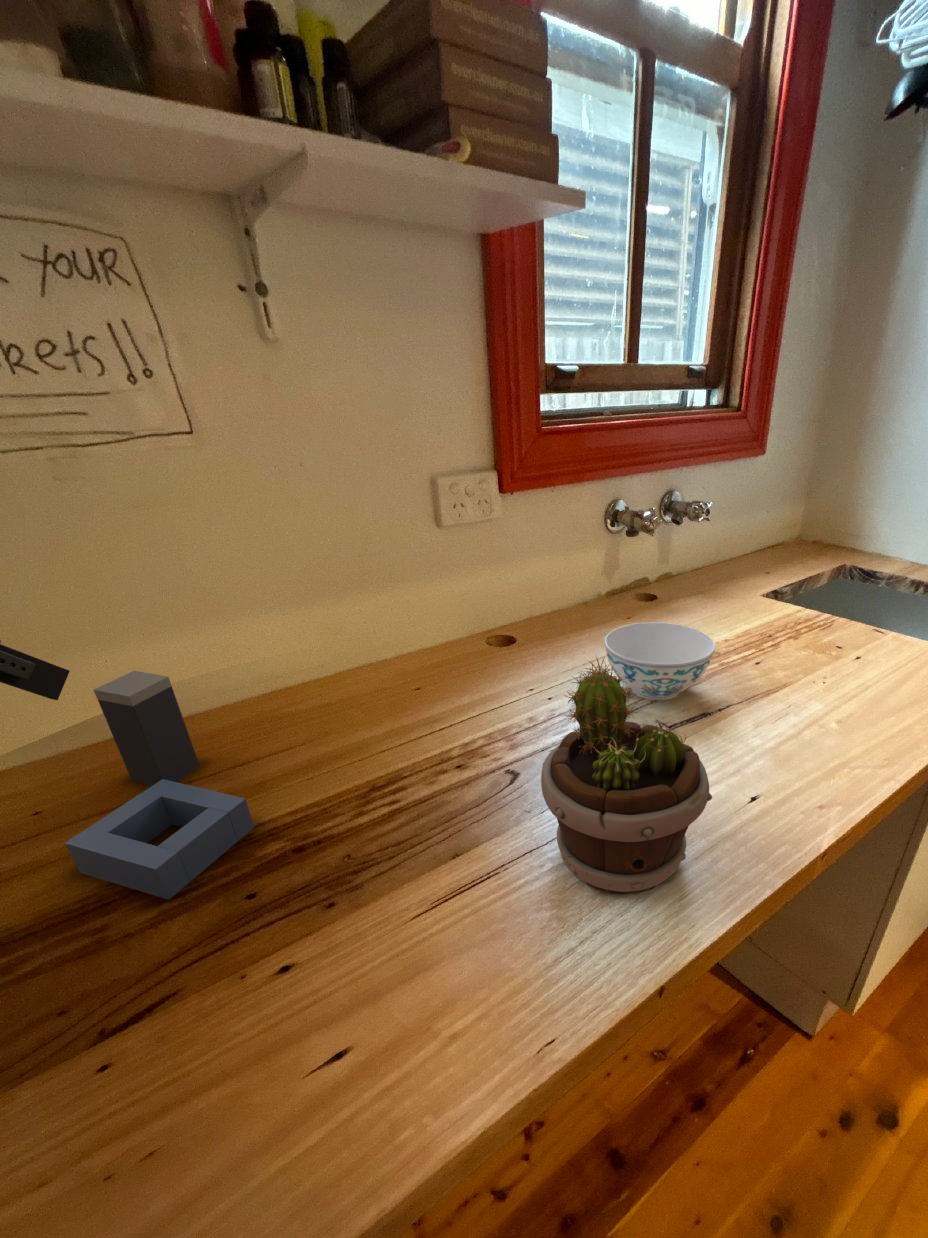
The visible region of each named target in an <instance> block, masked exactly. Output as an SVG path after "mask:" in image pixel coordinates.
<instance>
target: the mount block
mask: <svg viewBox="0 0 928 1238" xmlns="http://www.w3.org/2000/svg"><path fill="white" fill-rule="evenodd" d="M171 826H178V827H181V828H179V829H178V830H176V832H174V833H173V834H171V835H170V836H169V837H168V838H166V839H165V840H164V841H162V842H161V843H160V844H158V845H154V844H151V843H150V842H151V841H152V840H153V839H154V838H156V837H157V836H159V835H160V834H162V833H163V832H164V831H165V830H167V829H169V827H171ZM254 828H255V824H254V821H253V818H252V815H251V812H250V808H249V806H248V802H247V799H246V798H245V797H240V796H236V795H232V794H228V793H225V792H224V793H223V792H219V791H216V790H215V791H214V790H211V789H208V788H207V789H206V788H202V787H197V786H194V785H189V784H185V783H180V782H178V781H176V782H173V781H168V780H164V779H162V780H160V781H159V782H157V783H156V784H154V785H153V786H151V785H150V787H148V788H147V789H145V790H144V791H142V792H140V793H138V794H137V795H136V796H134V797H133V798H131V799H130V800H128V801H127V802H125V803H124V804H122V805H121V806H119V807H118V808H116V809H114V810H113V811H111V812H110V813H108V814H107V815H105V816H104V817H102V818H101V819H99V820H98V821H96V822H94V823H92V824H91V825H90V826H89V827H87V828H85V829H84V830H83V831H81V832H79V833H78V834H77V835H75V836H73V837H72V838H70V839H69V840H67V841H65V843H64V845H65V846H66V848H67V850H68V852H69V854H70V856H71V858H72V860H73V862H74V863H75V866H76V867H77V870H78V871H79V873H80V874H82V875H86V876H89V877H92V878H96V879H98V880H103V881H105V882H109V883H112V884H115V885H119V886H122V887H125V888H128V889H132V890H136V891H138V892H141V893H145V894H147V895H152V896H154V897H158V898H161V899H165V900H171V898H173V897H174V896H175V895H176V894H178V893H179V892H180V891H181V890H182V889H184V887H186V886H187V885H188V884H189V883H191V882H192V881H193V880H194V879H195V878H197V876H198V875H200V874H202V872H203V871H205V870H206V869H207V868H208V867H210V866H211V864H213V863H214V862H215V861H216V860H218V859H219V858H220V857H221V856H222V855H223V854H225V853H226V852H227V851H228V850H229V849H230V848H232V847H233V846H234V845H235V844H237V842H239V841H240V840H241V839H242V838H243V837H245V836H246V835H247V834H248V833H249V832H251V831H252V830H253V829H254Z"/></svg>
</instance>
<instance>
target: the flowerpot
mask: <svg viewBox="0 0 928 1238" xmlns="http://www.w3.org/2000/svg"><path fill="white" fill-rule="evenodd" d="M605 658H606V656H604V657H603V659H602V661H601V663H600V662H599V659H598V657H597V654H595V659H596V662H597V666H595V665H594V661H590V660H588V663H590V664H591V667H589V668H588V667H586V668H583V670H584V671H583V670H582V669H581V670H580V669H579V672H578V673H579V674H580V675H579V677H574V676H572V678H573V679H574V680H575V681H574V682H573V681H572V682H570V684H577V686H576V688H575V689H577V690H576V691H574V690H570V689H569V690H566V692H567V694H568V695H569V696H568V695H565V694H562V695H563V696H564V697H566V698H567V699H569V700H568V701H567V706H569V704H570V702H571V703H572V705H571V707H573V710H572V709H571V707H569V712H568V714H567V717H569V718H568V720H567V722H569V721H571V720H572V719H573V723H574V724H576V722H577V723H578V725H579V726H578V725H576V726H575V725H573V726H574V728H572V730H573V731H572V732H569V733H567V734H566V735H565V736H564V737H563V738H562V740H561V741H560V744H559V745H557V746H555V748H553V749H552V750H551V751H550V752H549V753H548V754H547V756H546V757H545V759H544V761H543V763H542V768H541V774H540V775H541V776H540V783H541V784H540V787H541V792H542V796H543V800H544V802H545V804H546V806H547V807H548V808H547V809H548V810H549V811H550V812H551V814H552V815H553V816H554V817H555V818H556V820H557V823H558V826H557V829H556V842H557V846H558V850H559V853H560V856H561V858H562V861H563V863H564V865H565V866H566V868H567V869H568V871H569V872H570V873H571V874H573V875H574V876H575V877H576V878H577V879H578V880H580V881H582V882H584V883H585V884H587V886H588V887H591V888H593V889H595V890H599V891H602V890H606V891H607V892H608V893H610V894H614V895H635V894H639V893H644V892H647V891H650V890H652V889H654V888H655V887H656V886H658V885H660V884H662V883H663V882H666V880H668V879H669V878H670V877H672V876H673V874H674V873H676V871H677V869H678V868H679V866H680V864H681V862H683V861H685V860H686V858H687V855H686V851H687V838H686V837H687V836H686V833H687V831H688V830H689V829H688V828H689V827H690V825H692V823H694V822H695V821H696V820H697V819H698V818H699V817H700V816H701V815H702V814H703V812H704V810H705V809H706V806H707V804H708V802H709V801H711V800H713V795H712V794H711V793H710V781H709V777H708V773H707V770H706V767H705V765H704V764H703V762H702V761H701V759H700V756H699V754H698V753H697V752H696V751H695V750H694V748H693V747H692V746H690V745H688V744H686V743H685V741H686V739H687V735H686V734H685V733H683V734H684V735H685V736H684V738H682V736H681V735H680V731H678V730H676V729H674V728H675V726H673V727H672V728H670V729H669V728H668V727H667V726H666V725H667V724H670V723H671V724H673V722H672V721H671V722H670V721H667V722H665V723H663V721H662V722H660V721H659V720H658V719H657V718H655V717H654V720H656V721H657V724H656V725H654V724H648V723H647V724H644V725H643V726H641V725H640V724H639V723H637V722H634V721H628V720H630V719H632V716H634V714H638V713H639V711H637V712H636V709H635V708H636V707H637V706H636V705H635V706H634V704H633V703H632V702H631V703H630V699H632V700H633V701H634V702H636V699H634V697H633V695H634V693H632V692H631V691H632V689H631V687H630V688H629V689H627V687H625V688H624V685H621V684H622V681H621V680H623V679H621V678H622V677H619V676H618V677H617V675H613V672H614V671H613V669H612V667H611V666H610V664H608V665H607V664H606V661H605ZM603 664H604V667H602V666H603ZM609 667H611V668H609ZM586 673H587V674H586ZM609 673H610V674H609ZM618 675H619V673H618ZM626 676H628V675H626ZM623 677H624V676H623ZM619 678H620V679H619ZM625 679H628V678H625ZM624 682H625V681H624ZM626 683H627V682H626ZM627 703H628V705H627ZM574 706H575V707H574ZM633 712H634V713H633ZM563 716H564V717H566V714H565V715H563ZM633 719H634V720H636V718H635V717H633ZM663 727H665V729H664V728H663Z"/></svg>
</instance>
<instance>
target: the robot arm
mask: <svg viewBox="0 0 928 1238" xmlns="http://www.w3.org/2000/svg"><path fill="white" fill-rule="evenodd" d="M1 643H2V640H1V639H0V683H1V684H4V685H7V686H10V687H12V688H15V689H19V690H23V691H26V692H28V693H30V694H31V693H32V694H34V695H38V696H41V697H43V698H46V699H49V700H54V701H59V698H60V696H61V694H62V691H63V689H64V686H65V684H66V682H67V680H68V676H69V674H70V672H71V670H69V669H66V668H64V667H61V666H59V665H56V664H54V663H51V662H48V661H46V660H43V659H40V658H37V657H35V656H32V655H30V654H27V653H24V652H22V651H20V650H17V649H14V648H12V647H9V646H6V645H4V644H1Z"/></svg>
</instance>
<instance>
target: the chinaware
mask: <svg viewBox="0 0 928 1238" xmlns="http://www.w3.org/2000/svg"><path fill="white" fill-rule="evenodd" d="M604 647H605V653H606V656H607V660H608V663H609V666H610V667H612V668H611V669H613V671H612V672H613V673H614V675H615V676H616V677H617V678H618V676H619V677H622V678H621V679H623V680H621V681H620V682H621V683H622V684H623V685H625V686H626V687H627V688H629V689H630V687H631V689H630V690H631V691H632V693H633V694H634V695H635V696H638V697H639V698H642V699H646V700H650V701H667V700H671V699H674V698H676V697H677V696H678V695H679V694H680V693H681V692H684V691H686V690H687V689H688V688H690V687H691V686H693V685H694V684H695V683H697V682H698V681H699V680H700V679H701V677H703V675H704V674H705V672H706V671H707V669H708V667H709V665H710V663H711V661H712V659H713V656H714V653H715V652H716V651H715V650H716V643H715V641H714V639H713V638H712V637H711V636H710V635H709V634H707V633H705V632H703V631H701V630H699V629H697V628H694V627H692V626H688V625H683V624H678V623H672V622H663V621H662V622H661V621H649V622H648V621H647V622H645V621H644V622H635V623H629V624H625V625H622V626H619V627H616V628H614V629H613V630H611V631H609V632H608V633H607V635H606V636H605V637H604ZM618 673H619V675H618ZM626 675H628V676H626ZM623 676H624V677H623ZM625 678H628V679H625ZM619 679H620V678H619ZM624 681H625V682H624ZM626 682H627V683H626Z"/></svg>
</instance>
